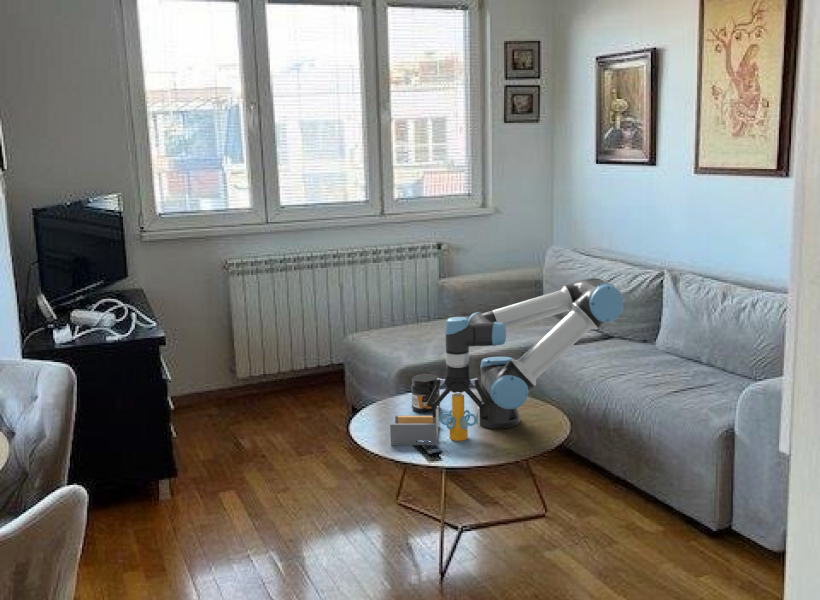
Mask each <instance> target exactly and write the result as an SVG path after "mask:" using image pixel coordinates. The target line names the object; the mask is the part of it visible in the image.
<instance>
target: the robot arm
mask: <svg viewBox="0 0 820 600" xmlns="http://www.w3.org/2000/svg"><path fill="white" fill-rule="evenodd" d="M624 304H625V301H624V296H623V294H622V292H621V291H620V290H619V289H618V288H617V287H615V285H613V284H612V283H609V282H607V281H605V280H603V279H601V278H597V277H591V278H586V279H585V278H584V279H583V280H578V281H576V282H572V283H569V284H566V285H563V286H562V288H561V289H560V290H556V291H554V292H553V291H552V292H549V293H546V294H543V295H539V296H537V297H533V298H529V299H526V300H523V301H520V302H516V303H513V304H510V305H506V306H503V307H500V308H497V309H496V308H495V309H494V310H493V309H492V310H490V311H486V312H480V311H478V312H473V313H472V314H471V315H470V316H469V317H465V316H453V317H451V316H450V317H448V318H447V319H446V321H445V364H446V366H445V378H444V379H443V378H440V377H438V378H437V383H436V386H435V388H434V390H433V392H432V394H431V396H430V398H429V400H428V402H427V406H428V407H429V406H430V407H432V409H433V412H432V415H433V417H436V424H437V428H438V427H439V428H440V415H439V414H440V413H439V409H440V408H439V406H438V405H439V403H440V404H441V403H442V401H443V400H444V399H445V398H446V397H447V396H448V394H450V393H452V394H454V393H462V394H463V393H465V394H467V395H468V396H469V397H470V399H471V400H472V401H473V402H474V403H475V405H477V406H476V407H477V410H476V411H477V412H476V415H475V416H476V418H477V422H476V424H477V425H476V426H477V427H476V428H478V429H479V428H481V427H483V428H488V429H498V430H501V429H503V430H505V429H511V428H514V427H516V426H518V425H520V423H521V415H520V411H519V409H518V408H520V407H521V406H523V405H524V404H525V403H526V401H527V400H528V397H529V393H530V391H532V390H533V389H534V388H535V387H536V386H537V385H536V384H537V379H538V378H539V377H540V376H541V375H542V374H544V372H545V371H547V370H548V368H550V367H551V366H552V365H553V364H554V363H555V362H556V361H557V360H558V359H559V358H561V357H562V356H563V355H564V354H565V353H566V352H567V351H568V350H569V349H570V348H571V347H572V346H574V345H575V343H577V342H578V341H579V340H580V339H582V337H584V335H585V334H586V333H588V332H589V331H590V330H598V329H599V328H601V326H603V324H605V323H608V322H609V323H610V322H613V321H615V320H617V318H619V317H620V316H621V314H622V313H623V310H624ZM566 312H568V313H567V314H566V315H565V316H564V317H563V318H562V319H561V320H559V321H558V323H556V324H555V325H554V326H553V327H552V328H551V329H550V330H548V331H547V333H546V334H545V335H543V336H542V337H541V338H540V339H539V340H538V341H537V342H536V343H535V344H533V345H532V346H531V347H530V348H529V349H528V350H527V351H526V352H525V353H524V354H523V355H522V356H521V357H519V358H518V359H514V358H513V357H509V356H490V357H489V356H488V357H485V358H483V359H482V360H481V361H480V381H479V377H475V378H471V379H470V366H469V363H470V351H469V350H470V347H489V346H491V347H492V346H493V347H495V346H502V345H504V344H505V343H506V340H507V331H506V330H509V329H511V328H515V327H518V326H522V325H525V324H529V323H532V322H536V321H539V320H541V319H542V320H543V319H545V318H548V317H552V316H556V315H558V314H562V313H566ZM443 384H445V386H446V387H445V389H444V390H443V391H442V392H441V394H440V396H439V397H438V398H437V399H436V401H435V402H434V403H433V402H432V401H433V399H434V397H435V395H436V394H437V392H438V390H439V387H440V388H441V386H443ZM470 384H472V386H474V387H475V389H476V391H477V392H478V395H479V397H480V398H479V397H477V395H476V394H475V393H474V392H473V391H472V389H471V388H470V387H469V386H470Z"/></svg>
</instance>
